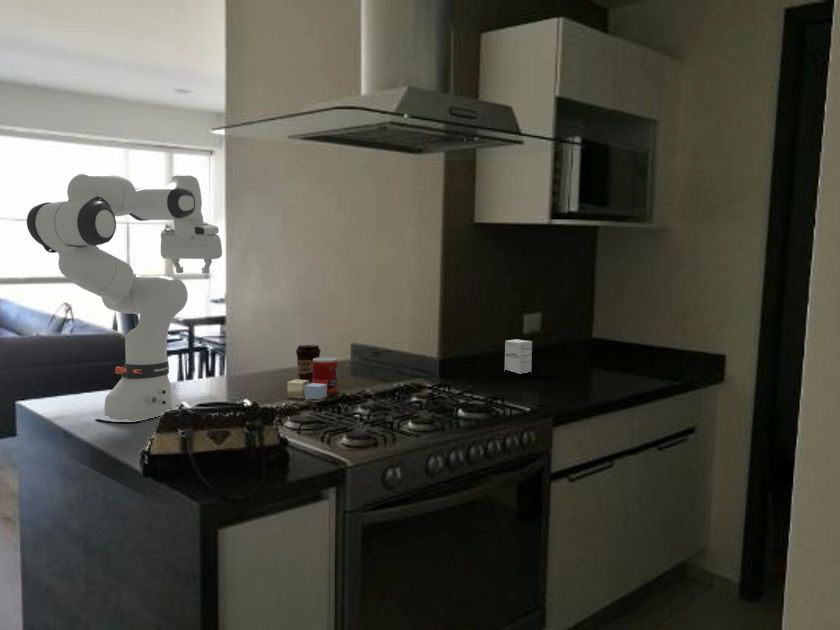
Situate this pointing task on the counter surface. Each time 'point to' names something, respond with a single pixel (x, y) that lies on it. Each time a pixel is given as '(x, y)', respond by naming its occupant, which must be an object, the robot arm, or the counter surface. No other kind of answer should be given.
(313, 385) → the slate block
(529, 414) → the counter surface
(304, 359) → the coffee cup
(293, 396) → the maple block
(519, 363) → the supplement box
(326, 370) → the canned food
